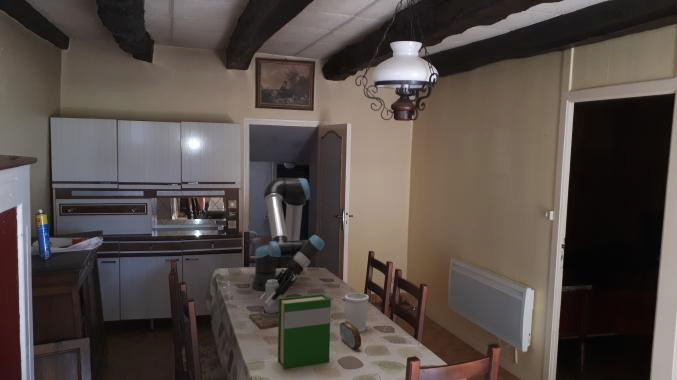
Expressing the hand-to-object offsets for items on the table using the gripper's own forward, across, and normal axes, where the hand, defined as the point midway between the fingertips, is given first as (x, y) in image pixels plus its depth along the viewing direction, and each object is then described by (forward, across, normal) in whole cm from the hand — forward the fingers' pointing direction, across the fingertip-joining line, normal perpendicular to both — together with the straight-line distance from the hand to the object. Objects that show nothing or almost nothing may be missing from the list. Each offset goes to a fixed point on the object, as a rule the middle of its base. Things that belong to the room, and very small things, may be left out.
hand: (264, 302), depth 227 cm
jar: (-17, -25, -30) cm, 43 cm away
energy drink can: (+1, 0, -6) cm, 7 cm away
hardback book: (+7, -46, -6) cm, 47 cm away
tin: (-9, -39, -23) cm, 46 cm away
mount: (+4, 0, -9) cm, 10 cm away
